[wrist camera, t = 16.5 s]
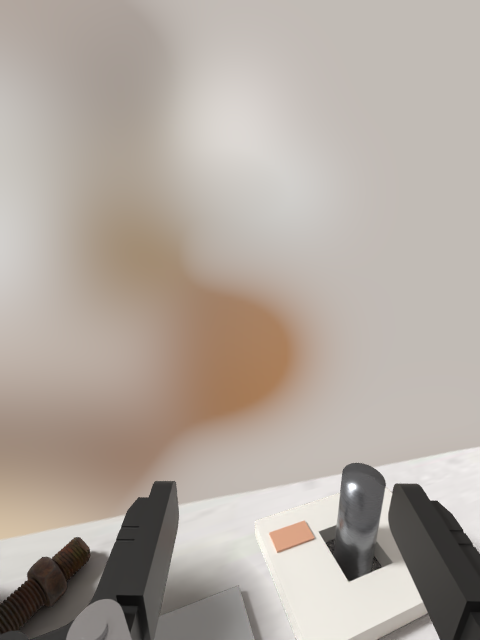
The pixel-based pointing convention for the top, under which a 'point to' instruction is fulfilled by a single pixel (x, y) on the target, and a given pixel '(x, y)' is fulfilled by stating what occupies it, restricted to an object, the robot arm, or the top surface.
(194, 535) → the top surface
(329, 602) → the plate
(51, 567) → the bolt
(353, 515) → the cylinder
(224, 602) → the mat
